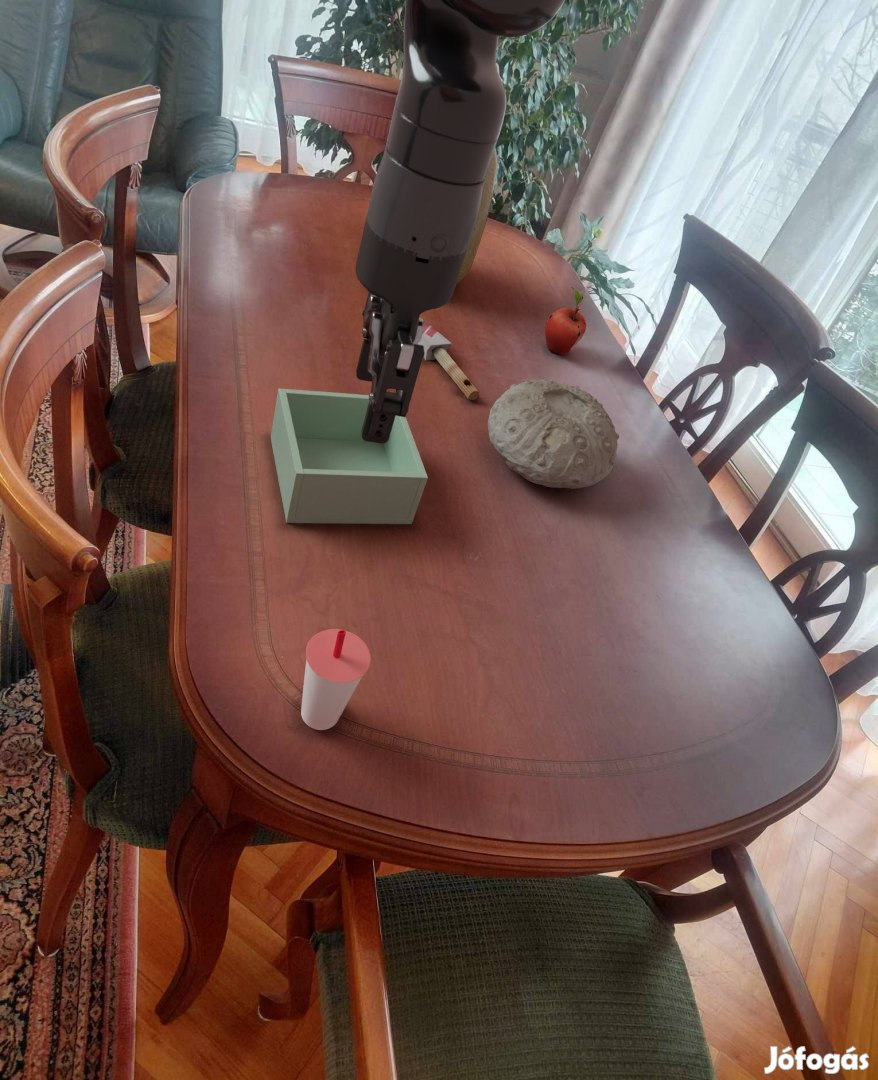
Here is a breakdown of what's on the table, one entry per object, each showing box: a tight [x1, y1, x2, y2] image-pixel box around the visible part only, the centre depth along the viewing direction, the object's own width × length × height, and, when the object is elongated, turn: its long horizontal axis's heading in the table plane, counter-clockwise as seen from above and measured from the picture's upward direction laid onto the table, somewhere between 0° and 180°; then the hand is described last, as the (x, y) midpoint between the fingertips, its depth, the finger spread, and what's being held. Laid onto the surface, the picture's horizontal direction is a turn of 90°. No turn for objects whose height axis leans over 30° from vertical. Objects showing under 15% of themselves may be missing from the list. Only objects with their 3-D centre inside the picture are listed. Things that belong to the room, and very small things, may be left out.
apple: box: [544, 286, 587, 356], centre depth 127 cm, size 8×7×10 cm
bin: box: [270, 387, 429, 525], centre depth 90 cm, size 15×15×7 cm
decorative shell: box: [487, 378, 620, 490], centre depth 103 cm, size 18×18×10 cm
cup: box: [300, 628, 371, 731], centre depth 66 cm, size 5×5×12 cm
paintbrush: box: [418, 316, 480, 401], centre depth 117 cm, size 4×3×20 cm
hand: (370, 408), depth 67 cm, fingers open, 8 cm apart
